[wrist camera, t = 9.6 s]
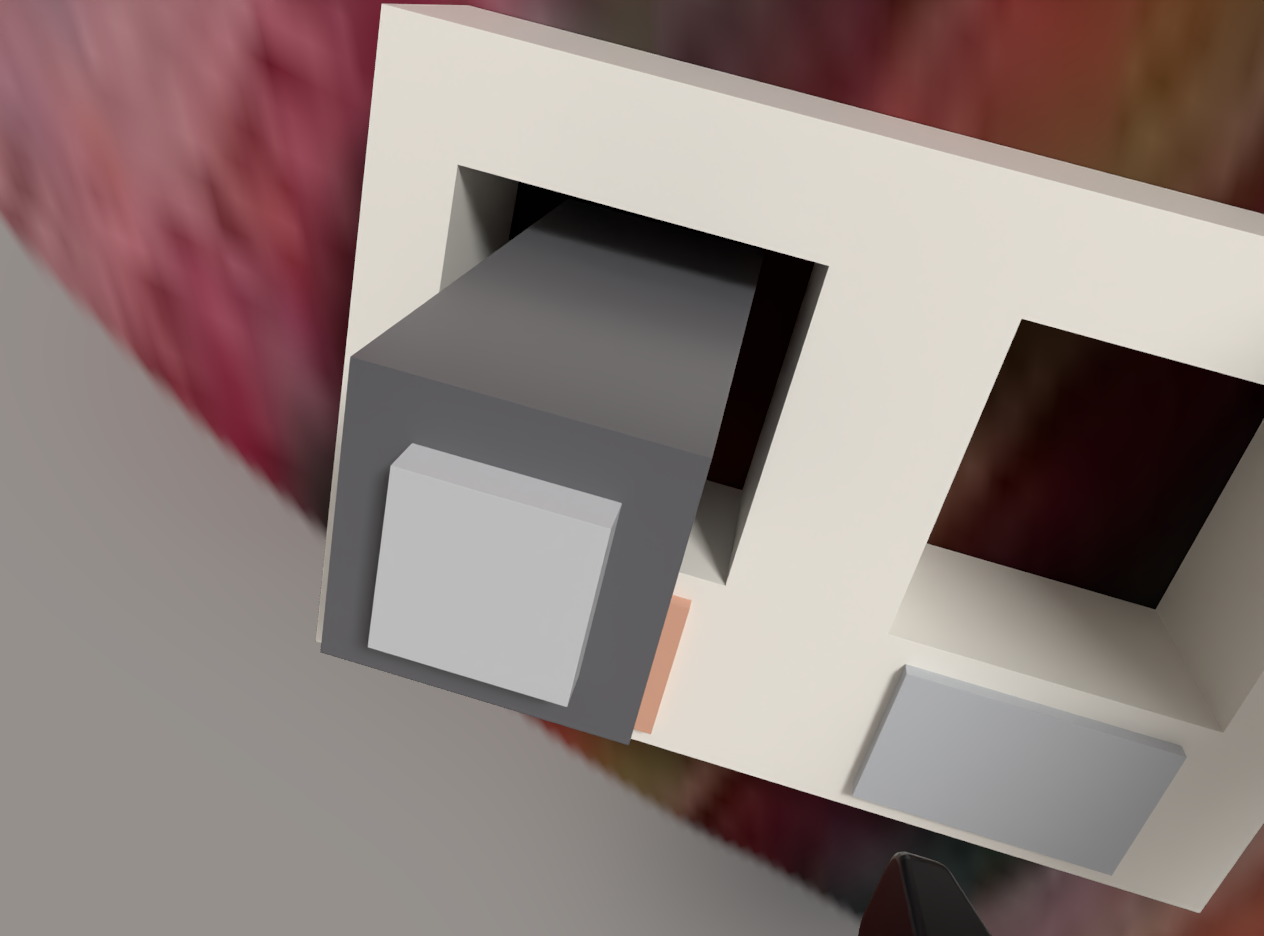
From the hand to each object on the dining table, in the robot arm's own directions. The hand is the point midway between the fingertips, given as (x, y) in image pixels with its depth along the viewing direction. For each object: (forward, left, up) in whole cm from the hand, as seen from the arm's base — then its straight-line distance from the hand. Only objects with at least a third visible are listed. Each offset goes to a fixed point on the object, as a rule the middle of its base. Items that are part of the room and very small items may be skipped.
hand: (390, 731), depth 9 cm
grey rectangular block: (0, 0, -13) cm, 13 cm away
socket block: (-5, +1, -13) cm, 14 cm away
